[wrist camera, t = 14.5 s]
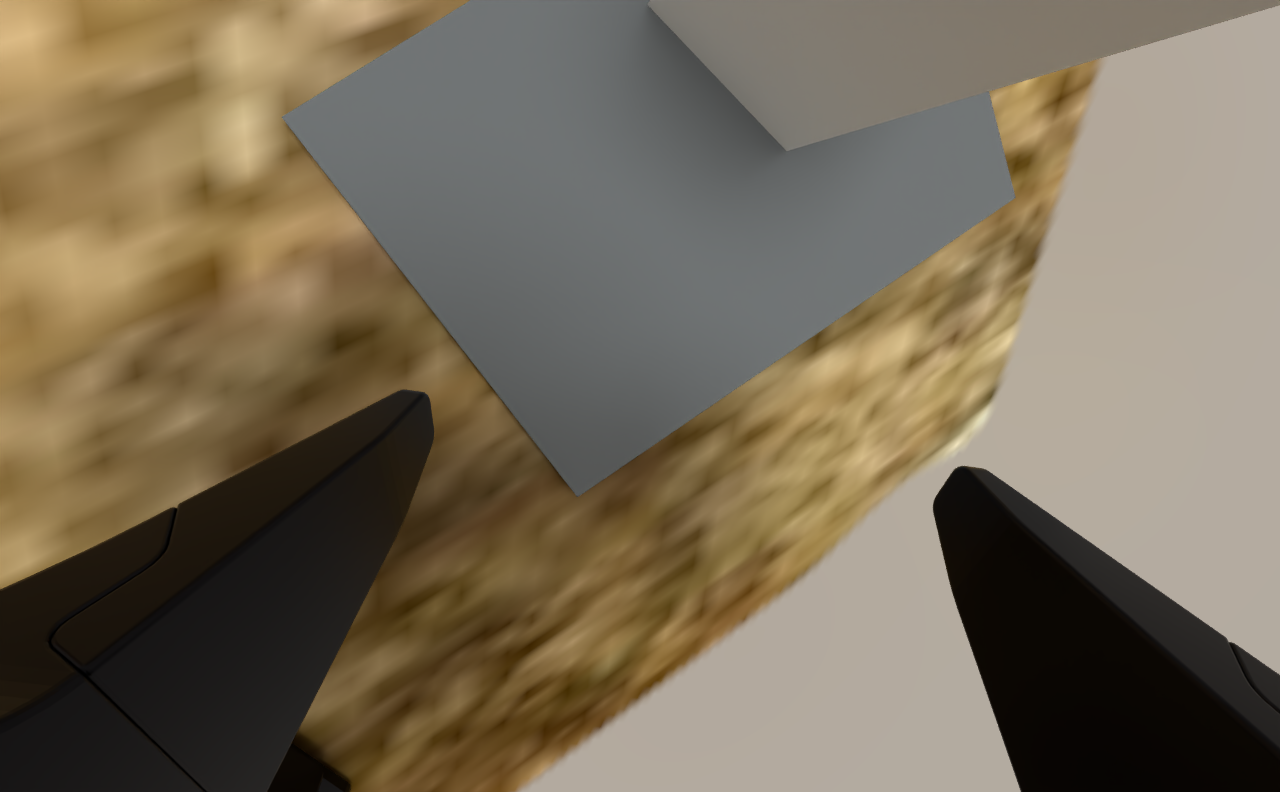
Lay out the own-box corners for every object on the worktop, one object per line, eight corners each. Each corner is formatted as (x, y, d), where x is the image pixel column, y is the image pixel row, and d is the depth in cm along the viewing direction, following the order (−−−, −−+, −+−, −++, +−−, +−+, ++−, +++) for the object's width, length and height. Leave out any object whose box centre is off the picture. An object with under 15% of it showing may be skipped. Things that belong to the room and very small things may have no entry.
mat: (575, 490, 19) (577, 497, 19) (288, 121, 14) (281, 116, 13) (1003, 198, 20) (1015, 197, 20) (886, -249, 15) (899, -265, 14)
